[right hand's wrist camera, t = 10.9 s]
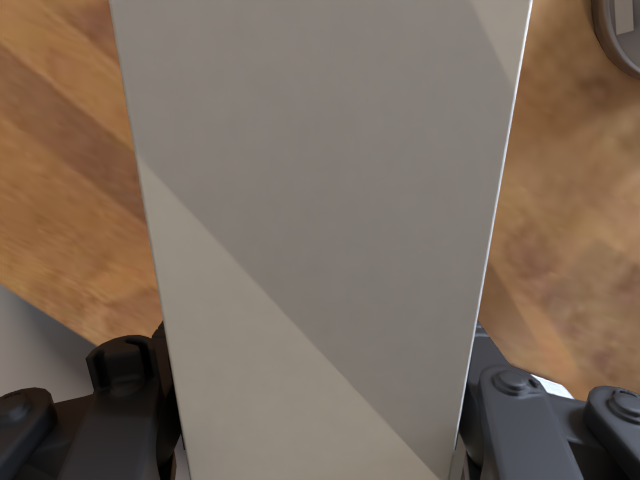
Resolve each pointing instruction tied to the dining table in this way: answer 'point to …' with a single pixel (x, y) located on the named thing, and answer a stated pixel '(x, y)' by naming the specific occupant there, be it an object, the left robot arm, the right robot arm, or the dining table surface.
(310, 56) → the post
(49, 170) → the dining table surface
